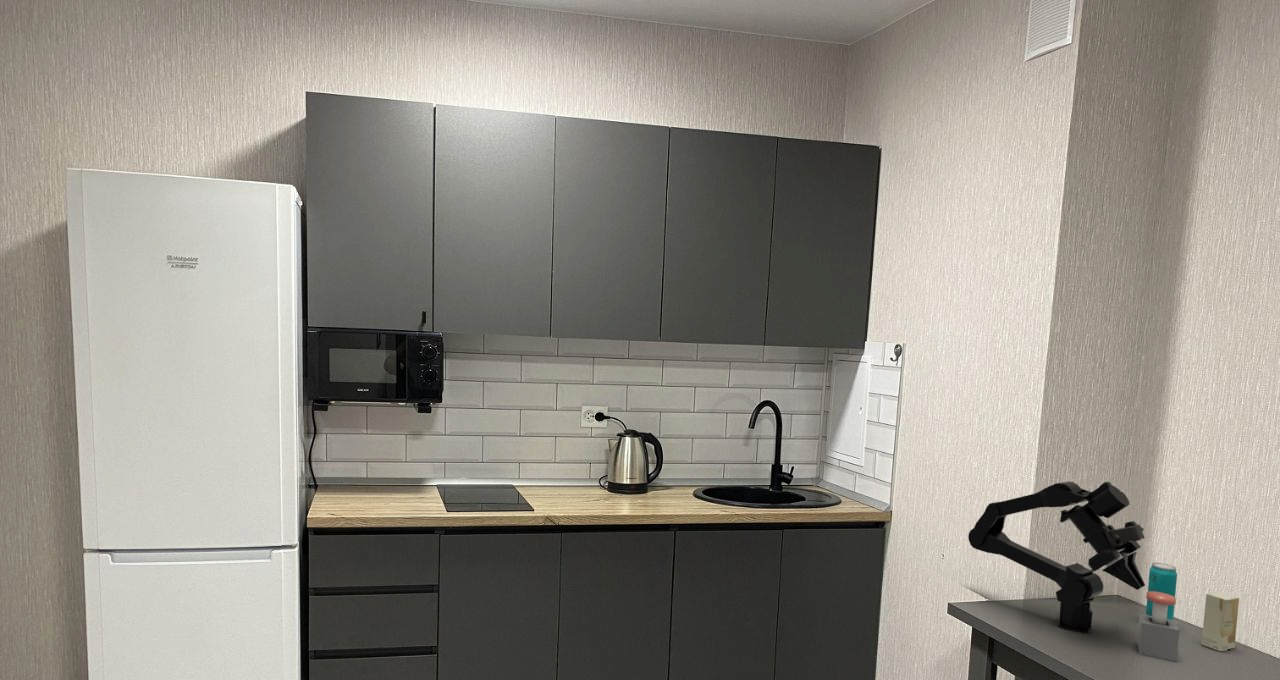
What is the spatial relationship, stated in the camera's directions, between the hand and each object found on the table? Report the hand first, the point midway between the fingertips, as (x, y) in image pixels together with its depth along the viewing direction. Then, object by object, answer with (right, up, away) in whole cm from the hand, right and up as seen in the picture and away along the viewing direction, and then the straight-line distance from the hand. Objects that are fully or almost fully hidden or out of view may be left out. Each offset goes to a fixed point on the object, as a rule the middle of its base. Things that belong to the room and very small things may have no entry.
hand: (1141, 587), depth 183 cm
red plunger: (+2, -8, -3) cm, 9 cm away
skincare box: (+20, -15, +4) cm, 25 cm away
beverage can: (+14, -14, +16) cm, 26 cm away
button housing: (+2, -14, -3) cm, 14 cm away
